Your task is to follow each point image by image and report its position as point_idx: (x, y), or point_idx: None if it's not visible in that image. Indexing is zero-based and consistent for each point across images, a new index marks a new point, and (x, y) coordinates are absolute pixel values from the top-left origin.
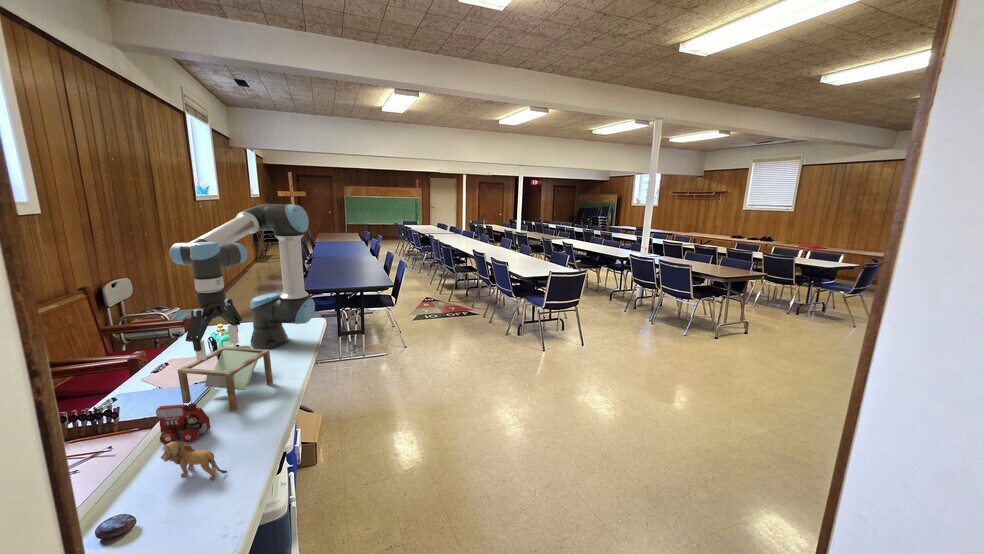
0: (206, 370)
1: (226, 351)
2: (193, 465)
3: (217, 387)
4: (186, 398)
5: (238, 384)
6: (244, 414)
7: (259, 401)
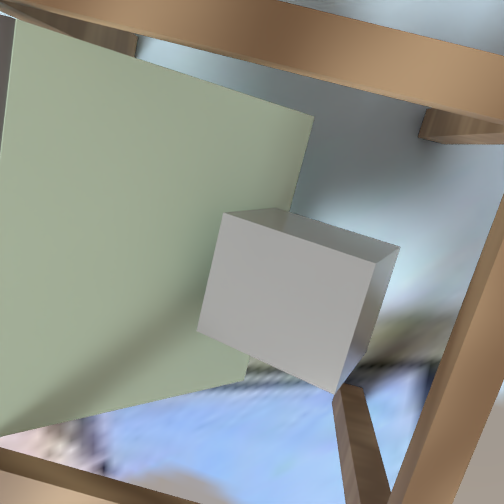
0: (467, 377)
1: None
2: None
3: (396, 258)
4: (370, 418)
5: (279, 165)
6: (497, 36)
7: (346, 12)
